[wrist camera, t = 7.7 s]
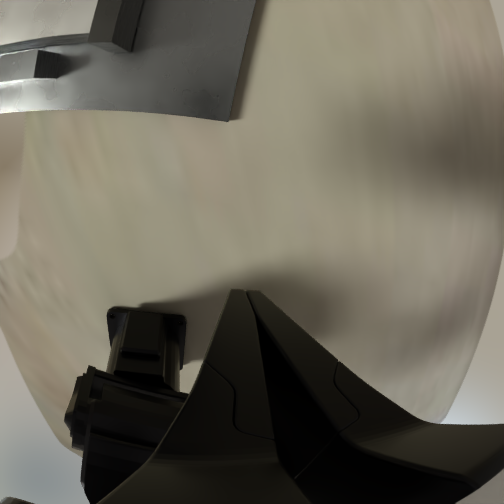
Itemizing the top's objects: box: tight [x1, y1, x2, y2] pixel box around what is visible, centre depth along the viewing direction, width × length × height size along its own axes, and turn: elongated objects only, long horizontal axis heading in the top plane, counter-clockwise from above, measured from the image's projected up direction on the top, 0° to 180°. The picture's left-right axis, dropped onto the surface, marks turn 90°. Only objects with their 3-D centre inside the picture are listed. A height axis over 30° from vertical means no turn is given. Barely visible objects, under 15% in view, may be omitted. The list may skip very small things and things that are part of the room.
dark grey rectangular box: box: [0, 0, 143, 53], centre depth 8 cm, size 7×15×4 cm, turn 78°
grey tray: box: [0, 0, 256, 122], centre depth 9 cm, size 12×24×6 cm, turn 78°
